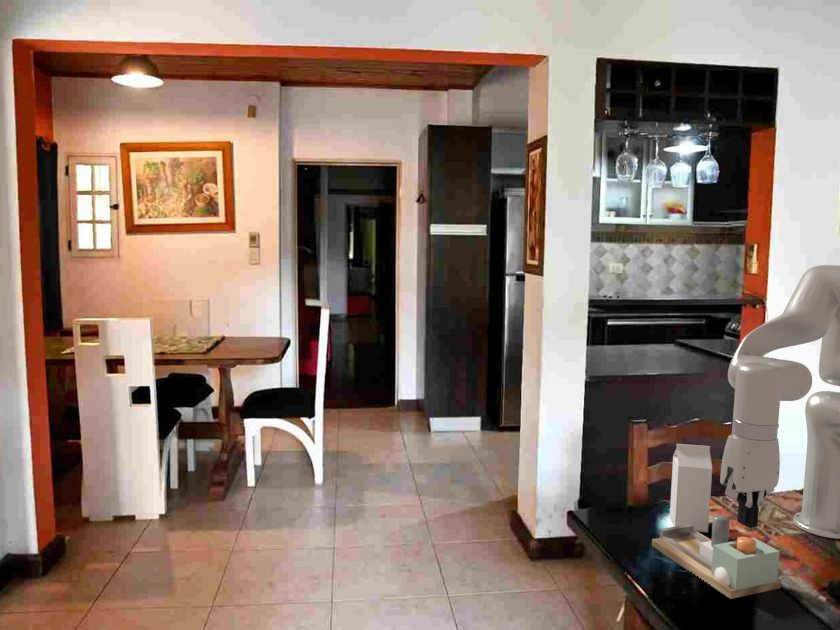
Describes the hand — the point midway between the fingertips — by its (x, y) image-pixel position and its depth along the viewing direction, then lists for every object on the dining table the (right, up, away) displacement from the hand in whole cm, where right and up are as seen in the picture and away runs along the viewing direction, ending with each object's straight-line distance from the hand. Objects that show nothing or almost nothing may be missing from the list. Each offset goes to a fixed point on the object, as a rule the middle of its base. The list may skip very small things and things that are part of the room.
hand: (747, 524), depth 125 cm
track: (-3, -11, +9) cm, 15 cm away
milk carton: (0, -9, +28) cm, 29 cm away
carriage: (-2, -10, +7) cm, 12 cm away
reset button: (0, -6, +1) cm, 6 cm away
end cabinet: (0, -12, +2) cm, 12 cm away
